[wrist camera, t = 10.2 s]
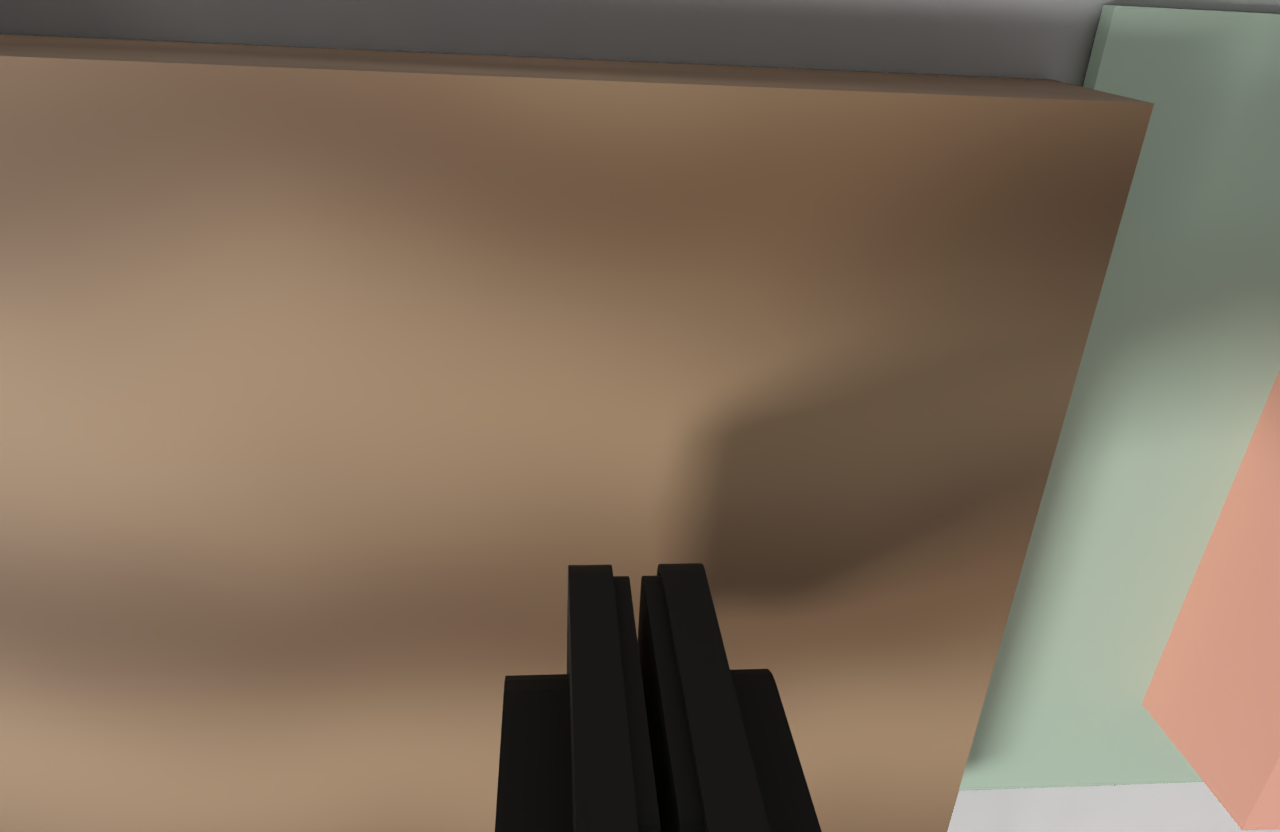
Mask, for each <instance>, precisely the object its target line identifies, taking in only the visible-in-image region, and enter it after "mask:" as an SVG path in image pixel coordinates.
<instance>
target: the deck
mask: <svg viewBox="0 0 1280 832" xmlns="http://www.w3.org/2000/svg"><path fill="white" fill-rule="evenodd" d="M1153 106H1154V103H1150V102H1146V101H1141V100H1137V99H1133V98H1128V97H1124V96H1120V95H1115V94H1111V93H1107V92H1102V91H1098V90H1094V89H1089V88H1085V87H1081V86H1076V85H1072V84H1068V83H1063V82H1059V81H1055V80H1047V79H1024V78H1001V77H978V76H955V75H932V74H909V73H886V72H863V71H840V70H817V69H794V68H771V67H748V66H724V65H701V64H678V63H655V62H632V61H609V60H586V59H563V58H540V57H517V56H494V55H471V54H448V53H425V52H402V51H379V50H356V49H333V48H310V47H287V46H264V45H241V44H218V43H194V42H171V41H148V40H125V39H102V38H79V37H56V36H33V35H10V34H0V832H495V821H496V805H497V789H498V774H499V758H500V742H501V727H502V711H503V695H504V682H505V676H513V675H550V674H567V601H568V565H612V570H613V576H629V579H630V586H631V594H632V602H633V610H634V618H635V626H636V634H637V642H638V624H639V607H640V589H641V579H642V576H657V569H658V565H659V564H680V563H702V564H703V565H704V568H705V572H706V576H707V580H708V584H709V588H710V592H711V596H712V600H713V604H714V608H715V612H716V616H717V620H718V624H719V628H720V632H721V636H722V640H723V644H724V648H725V652H726V656H727V660H728V664H729V668H730V670H737V669H769V670H770V672H771V673H772V675H773V677H774V680H775V682H776V685H777V688H778V691H779V695H780V698H781V701H782V704H783V708H784V711H785V714H786V717H787V721H788V724H789V727H790V730H791V734H792V737H793V740H794V743H795V747H796V750H797V753H798V756H799V760H800V763H801V766H802V769H803V773H804V776H805V779H806V782H807V786H808V789H809V792H810V795H811V799H812V802H813V805H814V808H815V812H816V815H817V818H818V821H819V825H820V828H821V831H822V832H947V830H948V826H949V823H950V819H951V816H952V812H953V809H954V805H955V802H956V798H957V795H958V791H959V788H960V784H961V781H962V777H963V774H964V770H965V767H966V763H967V760H968V756H969V753H970V749H971V746H972V742H973V738H974V735H975V731H976V728H977V724H978V721H979V717H980V714H981V710H982V707H983V703H984V700H985V696H986V693H987V689H988V686H989V682H990V679H991V675H992V672H993V668H994V665H995V661H996V658H997V654H998V651H999V647H1000V644H1001V640H1002V637H1003V633H1004V630H1005V626H1006V623H1007V619H1008V616H1009V612H1010V608H1011V605H1012V601H1013V598H1014V594H1015V591H1016V587H1017V584H1018V580H1019V577H1020V573H1021V570H1022V566H1023V563H1024V559H1025V556H1026V552H1027V549H1028V545H1029V542H1030V538H1031V535H1032V531H1033V528H1034V524H1035V521H1036V517H1037V514H1038V510H1039V507H1040V503H1041V500H1042V496H1043V493H1044V489H1045V486H1046V482H1047V479H1048V475H1049V471H1050V468H1051V464H1052V461H1053V457H1054V454H1055V450H1056V447H1057V443H1058V440H1059V436H1060V433H1061V429H1062V426H1063V422H1064V419H1065V415H1066V412H1067V408H1068V405H1069V401H1070V398H1071V394H1072V391H1073V387H1074V384H1075V380H1076V377H1077V373H1078V370H1079V366H1080V363H1081V359H1082V356H1083V352H1084V349H1085V345H1086V342H1087V338H1088V334H1089V331H1090V327H1091V324H1092V320H1093V317H1094V313H1095V310H1096V306H1097V303H1098V299H1099V296H1100V292H1101V289H1102V285H1103V282H1104V278H1105V275H1106V271H1107V268H1108V264H1109V261H1110V257H1111V254H1112V250H1113V247H1114V243H1115V240H1116V236H1117V233H1118V229H1119V226H1120V222H1121V219H1122V215H1123V212H1124V208H1125V205H1126V201H1127V197H1128V194H1129V190H1130V187H1131V183H1132V180H1133V176H1134V173H1135V169H1136V166H1137V162H1138V159H1139V155H1140V152H1141V148H1142V145H1143V141H1144V138H1145V134H1146V131H1147V127H1148V124H1149V120H1150V117H1151V113H1152V110H1153Z"/></svg>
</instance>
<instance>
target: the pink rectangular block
mask: <svg viewBox="0 0 1280 832" xmlns="http://www.w3.org/2000/svg"><path fill="white" fill-rule="evenodd" d="M1142 705H1143V706H1144V707H1145V709H1146V710H1147V711H1148V712H1149V714H1150V715H1151V716H1152V717H1153V719H1154V720H1155V721H1156V722H1157V724H1158V725H1159V726H1160V727H1161V729H1162V730H1163V731H1164V732H1165V734H1166V735H1167V736H1168V737H1169V739H1170V740H1171V741H1172V742H1173V744H1174V745H1175V746H1176V748H1177V749H1178V750H1179V751H1180V753H1181V754H1182V755H1183V756H1184V758H1185V759H1186V760H1187V761H1188V763H1189V764H1190V765H1191V766H1192V768H1193V769H1194V770H1195V771H1196V773H1197V774H1198V775H1199V776H1200V778H1201V779H1202V780H1203V781H1204V783H1205V784H1206V785H1207V787H1208V788H1209V789H1210V790H1211V792H1212V793H1213V794H1214V795H1215V797H1216V798H1217V799H1218V800H1219V802H1220V803H1221V804H1222V805H1223V807H1224V808H1225V809H1226V810H1227V812H1228V813H1229V814H1230V815H1231V817H1232V818H1233V819H1234V820H1235V822H1236V823H1237V824H1238V826H1239V827H1240V828H1241V829H1242V830H1259V829H1280V370H1279V372H1278V375H1277V377H1276V380H1275V382H1274V384H1273V387H1272V389H1271V392H1270V394H1269V396H1268V399H1267V401H1266V404H1265V406H1264V409H1263V411H1262V413H1261V416H1260V418H1259V421H1258V423H1257V426H1256V428H1255V430H1254V433H1253V435H1252V438H1251V440H1250V443H1249V445H1248V447H1247V450H1246V452H1245V455H1244V457H1243V459H1242V462H1241V464H1240V467H1239V469H1238V472H1237V474H1236V476H1235V479H1234V481H1233V484H1232V486H1231V489H1230V491H1229V493H1228V496H1227V498H1226V501H1225V503H1224V505H1223V508H1222V510H1221V513H1220V515H1219V518H1218V520H1217V522H1216V525H1215V527H1214V530H1213V532H1212V535H1211V537H1210V539H1209V542H1208V544H1207V547H1206V549H1205V552H1204V554H1203V556H1202V559H1201V561H1200V564H1199V566H1198V568H1197V571H1196V573H1195V576H1194V578H1193V581H1192V583H1191V585H1190V588H1189V590H1188V593H1187V595H1186V598H1185V600H1184V602H1183V605H1182V607H1181V610H1180V612H1179V615H1178V617H1177V619H1176V622H1175V624H1174V627H1173V629H1172V631H1171V634H1170V636H1169V639H1168V641H1167V644H1166V646H1165V648H1164V651H1163V653H1162V656H1161V658H1160V661H1159V663H1158V665H1157V668H1156V670H1155V673H1154V675H1153V678H1152V680H1151V682H1150V685H1149V687H1148V690H1147V692H1146V694H1145V697H1144V699H1143V702H1142Z"/></svg>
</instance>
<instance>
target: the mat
mask: <svg viewBox="0 0 1280 832" xmlns="http://www.w3.org/2000/svg"><path fill="white" fill-rule="evenodd" d="M1083 87H1085V88H1089V89H1094V90H1098V91H1102V92H1107V93H1111V94H1115V95H1120V96H1124V97H1128V98H1133V99H1137V100H1141V101H1146V102H1150V103H1154V106H1153V110H1152V113H1151V117H1150V120H1149V124H1148V127H1147V131H1146V134H1145V138H1144V141H1143V145H1142V148H1141V152H1140V155H1139V159H1138V162H1137V166H1136V169H1135V173H1134V176H1133V180H1132V183H1131V187H1130V190H1129V194H1128V197H1127V201H1126V205H1125V208H1124V212H1123V215H1122V219H1121V222H1120V226H1119V229H1118V233H1117V236H1116V240H1115V243H1114V247H1113V250H1112V254H1111V257H1110V261H1109V264H1108V268H1107V271H1106V275H1105V278H1104V282H1103V285H1102V289H1101V292H1100V296H1099V299H1098V303H1097V306H1096V310H1095V313H1094V317H1093V320H1092V324H1091V327H1090V331H1089V334H1088V338H1087V342H1086V345H1085V349H1084V352H1083V356H1082V359H1081V363H1080V366H1079V370H1078V373H1077V377H1076V380H1075V384H1074V387H1073V391H1072V394H1071V398H1070V401H1069V405H1068V408H1067V412H1066V415H1065V419H1064V422H1063V426H1062V429H1061V433H1060V436H1059V440H1058V443H1057V447H1056V450H1055V454H1054V457H1053V461H1052V464H1051V468H1050V471H1049V475H1048V479H1047V482H1046V486H1045V489H1044V493H1043V496H1042V500H1041V503H1040V507H1039V510H1038V514H1037V517H1036V521H1035V524H1034V528H1033V531H1032V535H1031V538H1030V542H1029V545H1028V549H1027V552H1026V556H1025V559H1024V563H1023V566H1022V570H1021V573H1020V577H1019V580H1018V584H1017V587H1016V591H1015V594H1014V598H1013V601H1012V605H1011V608H1010V612H1009V616H1008V619H1007V623H1006V626H1005V630H1004V633H1003V637H1002V640H1001V644H1000V647H999V651H998V654H997V658H996V661H995V665H994V668H993V672H992V675H991V679H990V682H989V686H988V689H987V693H986V696H985V700H984V703H983V707H982V710H981V714H980V717H979V721H978V724H977V728H976V731H975V735H974V738H973V742H972V746H971V749H970V753H969V756H968V760H967V763H966V767H965V770H964V774H963V777H962V781H961V784H960V788H959V791H961V790H989V789H1017V788H1045V787H1073V786H1101V785H1129V784H1157V783H1185V782H1204V781H1203V780H1202V779H1201V778H1200V776H1199V775H1198V774H1197V773H1196V771H1195V770H1194V769H1193V768H1192V766H1191V765H1190V764H1189V763H1188V761H1187V760H1186V759H1185V758H1184V756H1183V755H1182V754H1181V753H1180V751H1179V750H1178V749H1177V748H1176V746H1175V745H1174V744H1173V742H1172V741H1171V740H1170V739H1169V737H1168V736H1167V735H1166V734H1165V732H1164V731H1163V730H1162V729H1161V727H1160V726H1159V725H1158V724H1157V722H1156V721H1155V720H1154V719H1153V717H1152V716H1151V715H1150V714H1149V712H1148V711H1147V710H1146V709H1145V707H1144V706H1143V705H1142V702H1143V699H1144V697H1145V694H1146V692H1147V690H1148V687H1149V685H1150V682H1151V680H1152V678H1153V675H1154V673H1155V670H1156V668H1157V665H1158V663H1159V661H1160V658H1161V656H1162V653H1163V651H1164V648H1165V646H1166V644H1167V641H1168V639H1169V636H1170V634H1171V631H1172V629H1173V627H1174V624H1175V622H1176V619H1177V617H1178V615H1179V612H1180V610H1181V607H1182V605H1183V602H1184V600H1185V598H1186V595H1187V593H1188V590H1189V588H1190V585H1191V583H1192V581H1193V578H1194V576H1195V573H1196V571H1197V568H1198V566H1199V564H1200V561H1201V559H1202V556H1203V554H1204V552H1205V549H1206V547H1207V544H1208V542H1209V539H1210V537H1211V535H1212V532H1213V530H1214V527H1215V525H1216V522H1217V520H1218V518H1219V515H1220V513H1221V510H1222V508H1223V505H1224V503H1225V501H1226V498H1227V496H1228V493H1229V491H1230V489H1231V486H1232V484H1233V481H1234V479H1235V476H1236V474H1237V472H1238V469H1239V467H1240V464H1241V462H1242V459H1243V457H1244V455H1245V452H1246V450H1247V447H1248V445H1249V443H1250V440H1251V438H1252V435H1253V433H1254V430H1255V428H1256V426H1257V423H1258V421H1259V418H1260V416H1261V413H1262V411H1263V409H1264V406H1265V404H1266V401H1267V399H1268V396H1269V394H1270V392H1271V389H1272V387H1273V384H1274V382H1275V380H1276V377H1277V375H1278V372H1279V370H1280V14H1270V13H1250V12H1231V11H1212V10H1193V9H1174V8H1154V7H1135V6H1116V5H1103V8H1102V12H1101V16H1100V20H1099V24H1098V28H1097V32H1096V36H1095V40H1094V44H1093V48H1092V52H1091V56H1090V60H1089V64H1088V68H1087V72H1086V76H1085V80H1084V84H1083Z"/></svg>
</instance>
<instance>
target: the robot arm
mask: <svg viewBox="0 0 1280 832" xmlns="http://www.w3.org/2000/svg"><path fill="white" fill-rule="evenodd" d="M495 832H822V831H821V828H820V825H819V821H818V818H817V815H816V812H815V808H814V805H813V802H812V799H811V795H810V792H809V789H808V786H807V782H806V779H805V776H804V773H803V769H802V766H801V763H800V760H799V756H798V753H797V750H796V747H795V743H794V740H793V737H792V734H791V730H790V727H789V724H788V721H787V717H786V714H785V711H784V708H783V704H782V701H781V698H780V695H779V691H778V688H777V685H776V682H775V680H774V677H773V675H772V673H771V672H770V670H769V669H737V670H730V668H729V664H728V660H727V656H726V652H725V648H724V644H723V640H722V636H721V632H720V628H719V624H718V620H717V616H716V612H715V608H714V604H713V600H712V596H711V592H710V588H709V584H708V580H707V576H706V572H705V568H704V565H703V564H702V563H680V564H659V565H658V569H657V576H642V579H641V589H640V607H639V624H638V642H637V634H636V626H635V618H634V610H633V602H632V594H631V586H630V579H629V576H613V570H612V565H568V601H567V674H550V675H513V676H505V682H504V695H503V711H502V727H501V742H500V758H499V774H498V789H497V805H496V821H495Z"/></svg>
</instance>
